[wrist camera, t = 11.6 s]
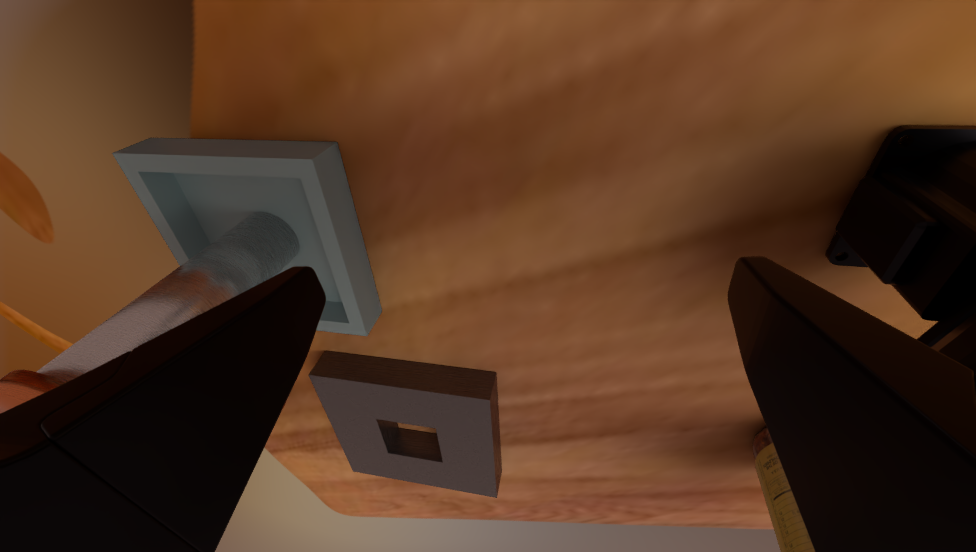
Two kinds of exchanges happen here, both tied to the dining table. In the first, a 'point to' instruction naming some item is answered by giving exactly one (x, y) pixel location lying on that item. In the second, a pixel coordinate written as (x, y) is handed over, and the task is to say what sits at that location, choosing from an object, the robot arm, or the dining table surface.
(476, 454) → the block
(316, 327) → the robot arm
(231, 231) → the hitch pin
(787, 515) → the sauce bottle
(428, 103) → the dining table surface
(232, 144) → the tray
